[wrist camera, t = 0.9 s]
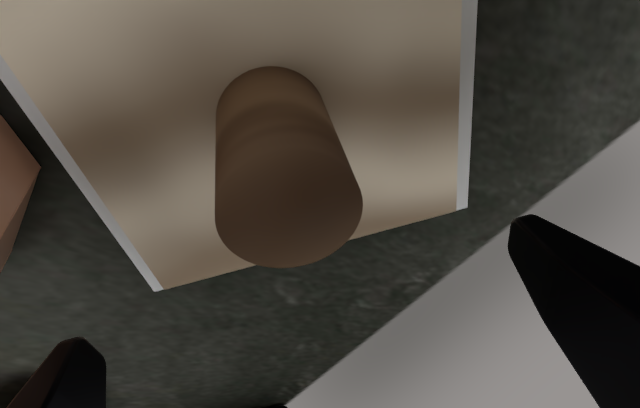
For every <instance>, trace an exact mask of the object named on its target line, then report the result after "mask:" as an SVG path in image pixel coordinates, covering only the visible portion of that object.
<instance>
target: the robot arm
mask: <svg viewBox="0 0 640 408" xmlns="http://www.w3.org/2000/svg"><path fill="white" fill-rule="evenodd" d="M508 251H509V254H510V257H511V259H512V261H513V263H514V265H515V267H516V269H517V271H518V273H519V275H520V277H521V279H522V281H523V283H524V285H525V287H526V289H527V291H528V292H529V294H530V297H531V299H532V300H533V302H534V305H535V306H536V308H537V310H538V312H539V314H540V316H541V318H542V319H543V321H544V323H545V325H546V326H547V328H548V329H549V331H550V332H551V334H552V336H553V337H554V338H555V340H556V342H557V343H558V345H559V346H560V348H561V349H562V351H563V352H564V354H565V355H566V357H567V358H568V360H569V361H570V363H571V365H572V366H573V367H574V369H575V371H576V372H577V374H578V375H579V376H580V378H581V379H582V381H583V383H584V384H585V386H586V387H587V389H588V390H589V392H590V393H591V395H592V396H593V398H594V399H595V401H596V403H597V404H598V406H599V407H600V408H640V266H638V265H636V264H634V263H632V262H630V261H628V260H626V259H624V258H622V257H620V256H618V255H616V254H614V253H612V252H610V251H608V250H606V249H604V248H602V247H600V246H597V245H595V244H593V243H591V242H589V241H587V240H585V239H583V238H581V237H579V236H577V235H575V234H573V233H571V232H569V231H567V230H565V229H563V228H561V227H559V226H557V225H555V224H553V223H551V222H549V221H547V220H545V219H543V218H541V217H539V216H536V215H532V214H530V215H525V216H522V217H518V218H515V219H513V221H512V222H511V226H510V234H509V241H508ZM7 408H106V362H105V359H104V357H103V356H102V355H101V354H100V353H99V352H98V351H97V350H96V349H95V348H94V347H93V346H92V345H91V344H90V343H89V342H88V341H87V340H86V339H85V338H83V337H75V338H71V339H68V340H64V341H62V342H60V343H59V344H58V345H57V346H56V347H55V348H54V349H53V350H52V352H51V353H50V354H49V355H48V357H47V358H46V359H45V360H44V362H43V363H42V364H41V365H40V367H39V368H38V369H37V370H36V372H35V373H34V374H33V375H32V377H31V378H30V379H29V380H28V381H27V383H26V384H25V385H24V386H23V388H22V389H21V390H20V391H19V393H18V394H17V395H16V396H15V398H14V399H13V400H12V401H11V403H10V404H9V405H8V406H7ZM274 408H287V407H286V406H278V407H274Z"/></svg>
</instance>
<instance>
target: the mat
mask: <svg viewBox="0 0 640 408" xmlns="http://www.w3.org/2000/svg"><path fill="white" fill-rule="evenodd" d="M477 4H478V0H462V15H461V52H460V90H459V128H458V166H457V203H456V210H460V209H464V208H467V207H468V187H469V166H470V146H471V126H472V106H473V85H474V65H475V45H476V25H477ZM0 79H1V81H2V82H3V84H4V85H5V86H6V88H7V89H8V90H9V92H10V93H11V95H12V96H13V97H14V99H15V100H16V102H17V103H18V104H19V106H20V107H21V108H22V110H23V111H24V113H25V114H26V115H27V117H28V118H29V119H30V121H31V122H32V124H33V125H34V126H35V128H36V129H37V131H38V132H39V133H40V135H41V136H42V137H43V139H44V140H45V142H46V143H47V144H48V146H49V147H50V149H51V150H52V151H53V153H54V154H55V155H56V157H57V158H58V160H59V161H60V162H61V164H62V165H63V166H64V168H65V169H66V171H67V172H68V173H69V175H70V176H71V178H72V179H73V180H74V182H75V183H76V184H77V186H78V187H79V189H80V190H81V191H82V193H83V194H84V196H85V197H86V198H87V200H88V201H89V202H90V204H91V205H92V207H93V208H94V209H95V211H96V212H97V213H98V215H99V216H100V218H101V219H102V220H103V222H104V223H105V225H106V226H107V227H108V229H109V230H110V231H111V233H112V234H113V236H114V237H115V238H116V240H117V241H118V242H119V244H120V245H121V247H122V248H123V249H124V251H125V252H126V254H127V255H128V256H129V258H130V259H131V260H132V262H133V263H134V265H135V266H136V267H137V269H138V270H139V272H140V273H141V274H142V276H143V277H144V278H145V280H146V281H147V283H148V284H149V285H150V287H151V288H152V289H153V291H154V292H156V291H160V290H163V288H162V286H161V285H160V283H159V282H158V280H157V279H156V278H155V276H154V275H153V273H152V272H151V270H150V269H149V267H148V266H147V265H146V263H145V262H144V260H143V259H142V257H141V256H140V255H139V253H138V252H137V250H136V249H135V247H134V246H133V244H132V243H131V242H130V240H129V239H128V237H127V236H126V234H125V233H124V232H123V230H122V229H121V227H120V226H119V224H118V223H117V221H116V220H115V219H114V217H113V216H112V214H111V213H110V211H109V210H108V209H107V207H106V206H105V204H104V203H103V201H102V200H101V198H100V197H99V196H98V194H97V193H96V191H95V190H94V188H93V187H92V186H91V184H90V183H89V181H88V180H87V178H86V177H85V175H84V174H83V173H82V171H81V170H80V168H79V167H78V165H77V164H76V163H75V161H74V160H73V158H72V157H71V155H70V154H69V152H68V151H67V150H66V148H65V147H64V145H63V144H62V142H61V141H60V140H59V138H58V137H57V135H56V134H55V132H54V131H53V129H52V128H51V127H50V125H49V124H48V122H47V121H46V119H45V118H44V117H43V115H42V114H41V112H40V111H39V109H38V108H37V106H36V105H35V104H34V102H33V101H32V99H31V98H30V96H29V95H28V94H27V92H26V91H25V89H24V88H23V86H22V85H21V83H20V82H19V81H18V79H17V78H16V76H15V75H14V73H13V72H12V70H11V69H10V68H9V66H8V65H7V63H6V62H5V60H4V59H3V58H2V56H1V55H0Z"/></svg>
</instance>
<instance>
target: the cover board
mask: <svg viewBox="0 0 640 408" xmlns="http://www.w3.org/2000/svg"><path fill="white" fill-rule="evenodd" d="M461 15H462V0H0V55H1V56H2V58H3V59H4V60H5V62H6V63H7V65H8V66H9V68H10V69H11V70H12V72H13V73H14V75H15V76H16V78H17V79H18V81H19V82H20V83H21V85H22V86H23V88H24V89H25V91H26V92H27V94H28V95H29V96H30V98H31V99H32V101H33V102H34V104H35V105H36V106H37V108H38V109H39V111H40V112H41V114H42V115H43V117H44V118H45V119H46V121H47V122H48V124H49V125H50V127H51V128H52V129H53V131H54V132H55V134H56V135H57V137H58V138H59V140H60V141H61V142H62V144H63V145H64V147H65V148H66V150H67V151H68V152H69V154H70V155H71V157H72V158H73V160H74V161H75V163H76V164H77V165H78V167H79V168H80V170H81V171H82V173H83V174H84V175H85V177H86V178H87V180H88V181H89V183H90V184H91V186H92V187H93V188H94V190H95V191H96V193H97V194H98V196H99V197H100V198H101V200H102V201H103V203H104V204H105V206H106V207H107V209H108V210H109V211H110V213H111V214H112V216H113V217H114V219H115V220H116V221H117V223H118V224H119V226H120V227H121V229H122V230H123V232H124V233H125V234H126V236H127V237H128V239H129V240H130V242H131V243H132V244H133V246H134V247H135V249H136V250H137V252H138V253H139V255H140V256H141V257H142V259H143V260H144V262H145V263H146V265H147V266H148V267H149V269H150V270H151V272H152V273H153V275H154V276H155V278H156V279H157V280H158V282H159V283H160V285H161V286H162V288H163V289H164V290H165V289H169V288H173V287H177V286H180V285H184V284H188V283H191V282H195V281H199V280H203V279H206V278H210V277H214V276H217V275H221V274H225V273H229V272H232V271H236V270H240V269H243V268H247V267H251V266H255V265H260V266H264V267H271V268H291V267H298V266H303V265H307V264H310V263H313V262H316V261H318V260H321V259H323V258H325V257H327V256H329V255H330V254H332V253H333V252H335V251H336V250H338V249H339V248H340V247H341V246H343V245H344V244H345V243H346V242H347V241H348V240H351V239H355V238H358V237H362V236H366V235H370V234H373V233H377V232H381V231H384V230H388V229H392V228H396V227H399V226H403V225H407V224H410V223H414V222H418V221H422V220H425V219H429V218H433V217H436V216H440V215H444V214H448V213H451V212H455V211H456V203H457V166H458V128H459V90H460V52H461Z"/></svg>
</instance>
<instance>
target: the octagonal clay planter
mask: <svg viewBox="0 0 640 408" xmlns="http://www.w3.org/2000/svg"><path fill="white" fill-rule="evenodd" d="M40 168H41V166H40V165H39V164H38V162H37V161H36V160H35V159H34V157H33V156H32V155H31V153H30V152H29V151H28V149H27V148H26V147H25V145H24V144H23V143H22V142H21V140H20V139H19V138H18V136H17V135H16V134H15V132H14V131H13V130H12V129H11V127H10V126H9V125H8V123H7V122H6V121H5V119H4V118H3V117H2V116H1V114H0V273H1V271H2V269H3V267H4V265H5V263H6V261H7V259H8V257H9V255H10V253H11V251H12V248H13V245H14V242H15V239H16V236H17V234H18V231H19V228H20V225H21V222H22V219H23V216H24V214H25V211H26V208H27V205H28V202H29V199H30V196H31V193H32V191H33V188H34V185H35V182H36V179H37V176H38V173H39V171H40Z"/></svg>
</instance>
